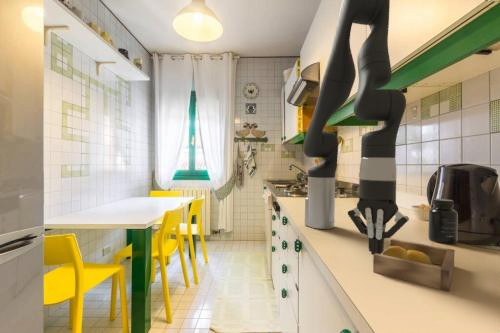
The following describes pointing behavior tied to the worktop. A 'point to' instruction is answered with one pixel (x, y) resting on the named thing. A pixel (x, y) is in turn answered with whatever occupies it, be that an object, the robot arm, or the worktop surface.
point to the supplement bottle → (443, 222)
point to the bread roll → (407, 254)
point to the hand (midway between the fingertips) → (375, 254)
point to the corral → (418, 265)
